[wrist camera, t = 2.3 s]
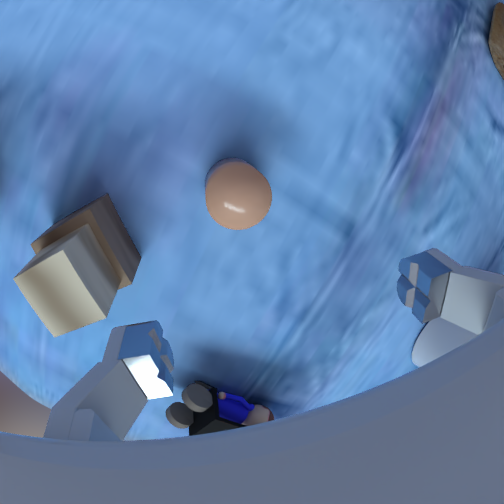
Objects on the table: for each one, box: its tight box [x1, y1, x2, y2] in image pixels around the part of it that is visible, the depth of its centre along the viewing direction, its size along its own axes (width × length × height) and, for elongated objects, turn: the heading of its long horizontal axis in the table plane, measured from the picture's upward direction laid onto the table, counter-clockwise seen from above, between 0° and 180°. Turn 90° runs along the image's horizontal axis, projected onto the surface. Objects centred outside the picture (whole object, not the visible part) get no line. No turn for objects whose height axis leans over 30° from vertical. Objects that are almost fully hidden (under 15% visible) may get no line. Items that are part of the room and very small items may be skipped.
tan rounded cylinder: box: [205, 158, 272, 230], centre depth 23 cm, size 5×5×5 cm
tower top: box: [14, 223, 121, 337], centre depth 19 cm, size 6×6×5 cm
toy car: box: [166, 381, 274, 436], centre depth 35 cm, size 7×8×15 cm
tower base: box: [31, 194, 141, 289], centre depth 23 cm, size 7×7×5 cm
